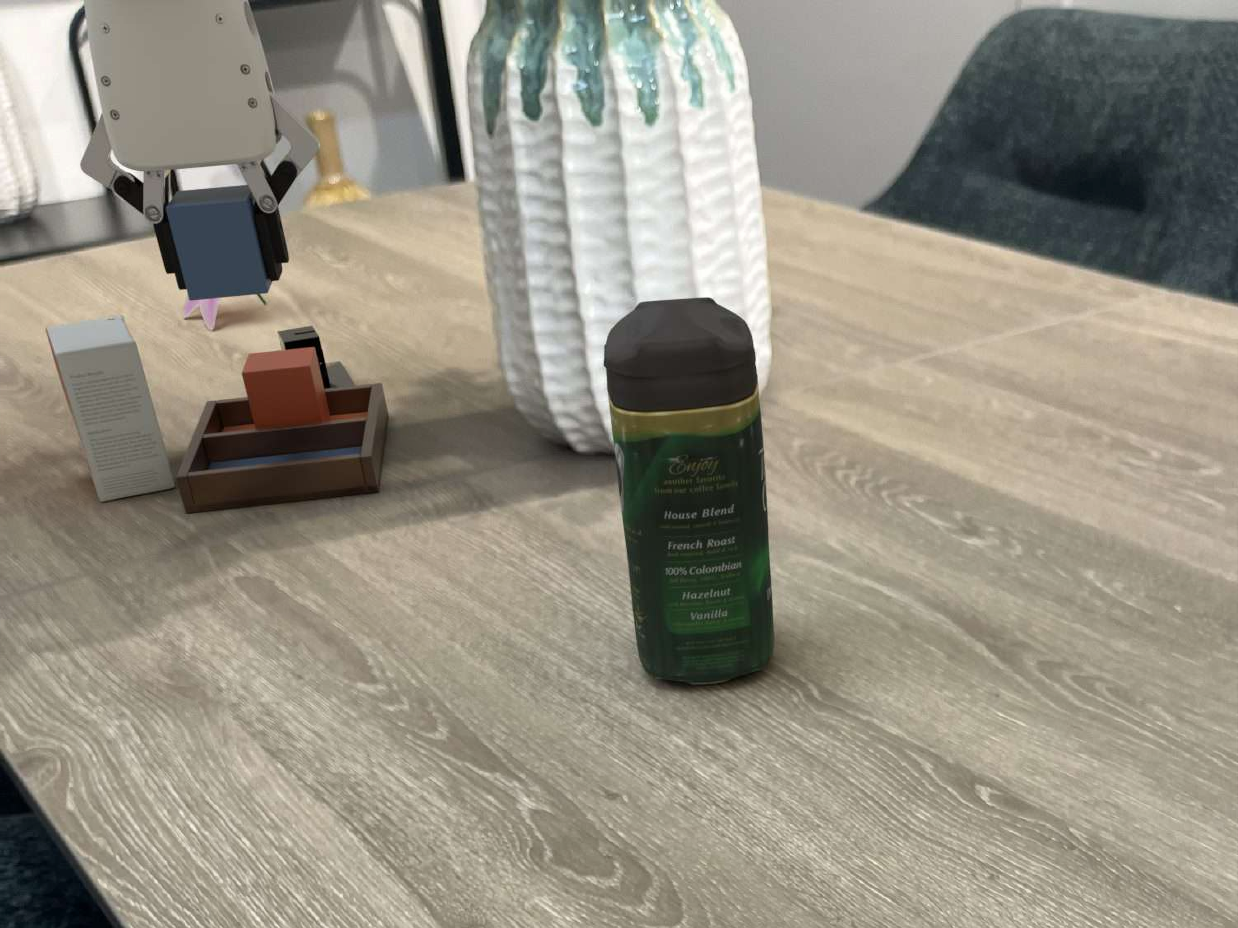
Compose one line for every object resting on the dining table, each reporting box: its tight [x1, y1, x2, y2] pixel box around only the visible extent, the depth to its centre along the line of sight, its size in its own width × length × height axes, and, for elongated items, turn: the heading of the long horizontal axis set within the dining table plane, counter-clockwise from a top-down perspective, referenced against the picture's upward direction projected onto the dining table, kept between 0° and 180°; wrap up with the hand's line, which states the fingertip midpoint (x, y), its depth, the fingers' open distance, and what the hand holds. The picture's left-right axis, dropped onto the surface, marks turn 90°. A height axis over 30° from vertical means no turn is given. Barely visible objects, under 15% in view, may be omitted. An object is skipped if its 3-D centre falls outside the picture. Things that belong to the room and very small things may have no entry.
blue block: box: [166, 184, 273, 301], centre depth 111 cm, size 5×5×6 cm
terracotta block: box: [241, 347, 331, 429], centre depth 130 cm, size 5×5×6 cm
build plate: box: [277, 325, 356, 389], centre depth 141 cm, size 12×7×5 cm, turn 21°
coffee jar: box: [603, 296, 775, 685], centre depth 92 cm, size 10×8×19 cm
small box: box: [44, 315, 176, 503], centre depth 124 cm, size 8×6×10 cm
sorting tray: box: [175, 382, 389, 514], centre depth 128 cm, size 14×18×3 cm
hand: (230, 276), depth 112 cm, fingers closed on blue block, 5 cm apart
